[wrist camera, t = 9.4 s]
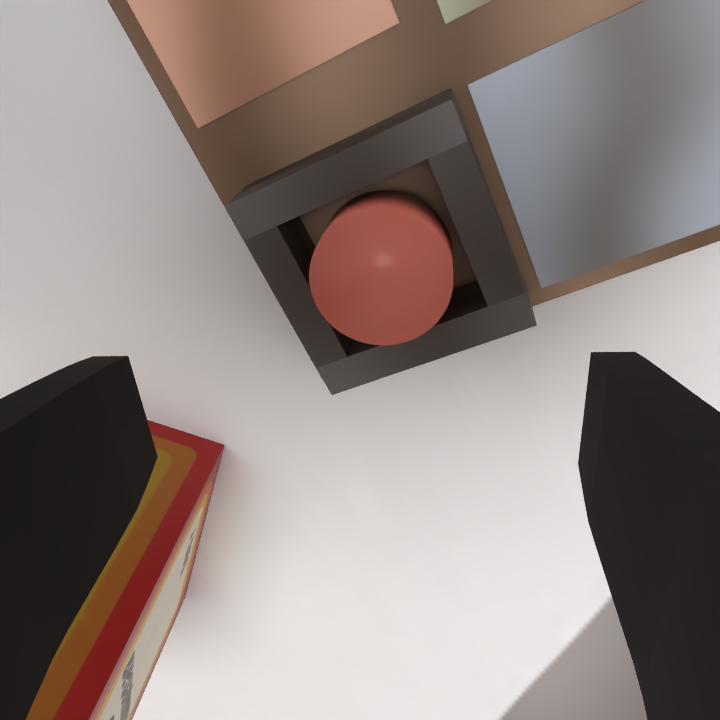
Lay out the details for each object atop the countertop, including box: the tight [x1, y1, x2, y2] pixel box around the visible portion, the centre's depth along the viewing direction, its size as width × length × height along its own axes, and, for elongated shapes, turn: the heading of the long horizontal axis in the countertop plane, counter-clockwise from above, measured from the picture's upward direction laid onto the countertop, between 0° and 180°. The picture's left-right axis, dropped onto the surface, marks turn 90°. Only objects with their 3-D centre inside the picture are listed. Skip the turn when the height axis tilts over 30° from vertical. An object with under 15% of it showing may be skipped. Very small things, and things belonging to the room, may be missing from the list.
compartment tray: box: [108, 0, 720, 395], centre depth 15 cm, size 14×17×3 cm
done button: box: [309, 190, 453, 345], centre depth 17 cm, size 4×4×2 cm
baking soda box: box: [26, 420, 224, 720], centre depth 20 cm, size 10×6×16 cm
